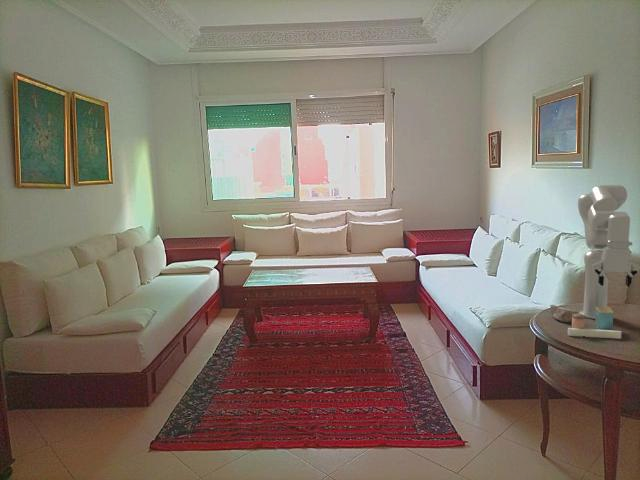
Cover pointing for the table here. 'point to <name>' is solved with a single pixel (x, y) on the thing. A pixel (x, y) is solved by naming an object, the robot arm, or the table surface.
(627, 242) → the robot arm
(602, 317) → the tea tin
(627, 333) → the table surface
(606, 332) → the rail
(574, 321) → the spice jar
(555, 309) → the mineral specimen
